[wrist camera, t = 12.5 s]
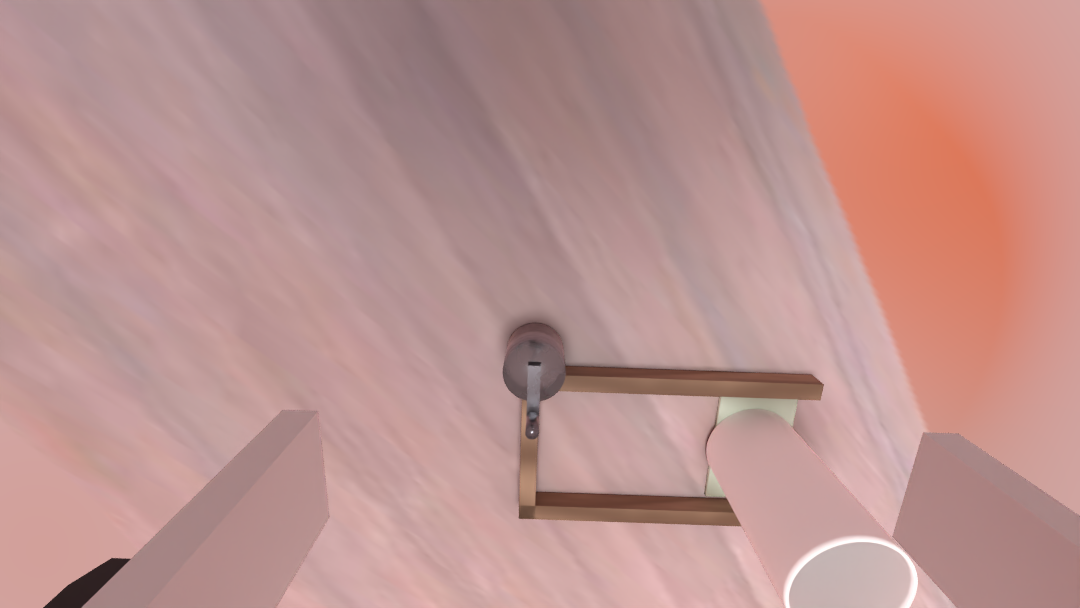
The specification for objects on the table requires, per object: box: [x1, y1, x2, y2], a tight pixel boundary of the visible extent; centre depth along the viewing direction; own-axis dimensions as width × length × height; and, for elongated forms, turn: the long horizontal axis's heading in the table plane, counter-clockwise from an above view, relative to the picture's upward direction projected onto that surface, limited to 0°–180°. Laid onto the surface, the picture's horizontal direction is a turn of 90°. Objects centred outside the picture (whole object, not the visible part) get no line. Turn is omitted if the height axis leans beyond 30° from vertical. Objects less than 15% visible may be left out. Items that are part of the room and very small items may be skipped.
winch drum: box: [503, 323, 566, 440], centre depth 40 cm, size 6×5×8 cm
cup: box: [706, 409, 918, 608], centre depth 39 cm, size 8×8×16 cm
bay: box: [519, 366, 824, 526], centre depth 46 cm, size 15×26×2 cm, turn 88°
